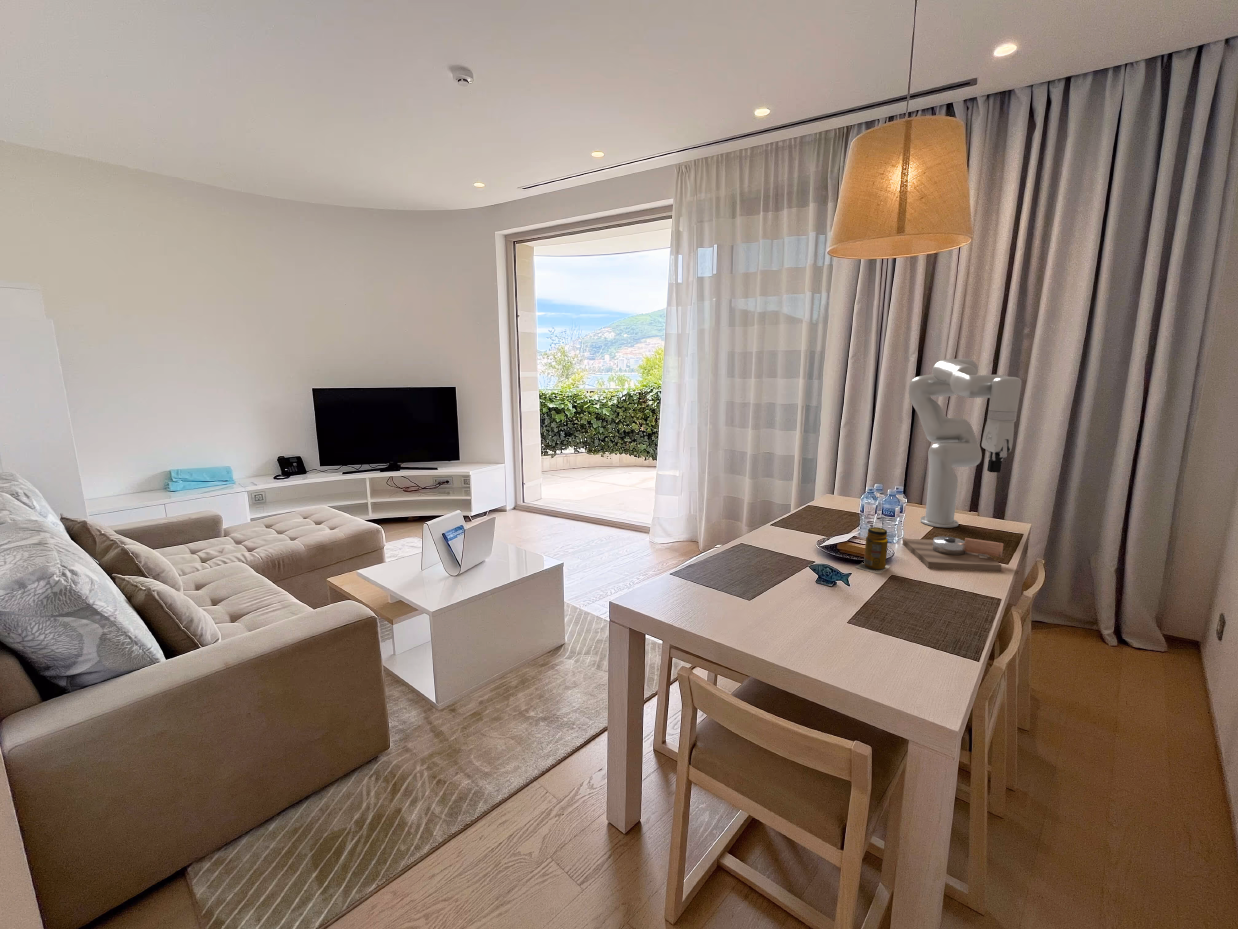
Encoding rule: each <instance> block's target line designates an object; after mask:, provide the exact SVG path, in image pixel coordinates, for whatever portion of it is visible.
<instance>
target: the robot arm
mask: <svg viewBox="0 0 1238 929" xmlns="http://www.w3.org/2000/svg"><path fill="white" fill-rule="evenodd" d="M931 370H932V371H931V372H932V374H926V375H925V374H924V375H919V376H916V377H914V378H913V379H911V380H910V383H909V384H908V398H909V401H910V402H911V405H912V406H913V408H914V410H915V411H916V413H917V415H918V418H919V421H920V424H921V426H922V430H923V432H924V433H923V434H924V435H925V438H926V439H927V440H928V441H929V442H931V443H932V445H930V446H929V448H928V452H927V457H928V482H927V483H928V485H927V494H926V495H927V496H926V505H925V515H924V516H921V517H920V523H922V524H925V525H927V526H931V527H937V528H956V527H958V526H959V521H958V520H956V519H955V513H956V504H957V502H956V501H957V494H958V487H959V486H958V482H959V480H958V476H957V473H955V471H954V468H972V467H975V466H977V465H979V464H981V461H982V457H983V456H982V455H983V453H982V449H981V447H982V448H983V449H985V450H986V451H987V452H988V456H987V458H988V462H987V467H986V468H987V469H986V471H987V472H989V473H1001V469H1002V462H1003V461H1004V458H1007V457H1008V454H1009V453H1010V452H1012V448H1013V444H1014V434H1015V422H1016V421H1017V415H1018V409H1019V402H1020V396H1021V388H1022V383H1023V382H1022V379H1021V378H1019V377H1016V376H1007V375H1004V374H978V372H979V367H978V364H977V362H975V360H973V359H972V358H971V359H970V358H947V359H941V360H939V361H937V362H936V363H935V364H934V365H933V367H932V369H931ZM956 395H958V396H960V397H962V398H968V399H975V398H976V399H987V398H988V399H989V403H988V412H987V416H986V417H987V418H986V422H985V426H984V429H983V434H982V439H981V440H982V441H981V446H980V444H979V441H978V438H977V436H976V433H975V431H974V429H973V426H972V424H971V423H970V422H969V421H968V420H967V419H965V418H963V417H947V415H946V414H945V412H944V409H943V407H942V406H941V405H940V404H939V402H938V401H936V400H935V399H933V397H934V398H935V397H936V398H937V397H938V398H939V397H953V396H956Z"/></svg>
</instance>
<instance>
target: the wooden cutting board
mask: <svg viewBox="0 0 1238 929" xmlns="http://www.w3.org/2000/svg"><path fill="white" fill-rule="evenodd" d="M902 545H903V546H904V547H905V548H906V549H907V550H908V551H909V552H910V553H911V554H912V555H913V556H914V557H916V558H917V559H918V560H919V561H920V562H921V563H922V564H923V565H924V566H925V567H926V568H927V569H936V570H938V569H939V570H962V571H981V572H982V571H985V572H987V571H988V572H1002V566H1003V565H1002V564H1001V563H999V562H998V561H997V560H995V559H993V558H992V557H991V556H990V555H984V554H977V553H971V552H966V553H965V554H962V555H950V554H944V553H940V552H937V551H935V550H934V549H933V539H925V538H924V539H922V538H920V539H919V538H902Z"/></svg>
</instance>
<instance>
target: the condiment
mask: <svg viewBox="0 0 1238 929" xmlns="http://www.w3.org/2000/svg"><path fill="white" fill-rule="evenodd" d="M865 537H866V538H865V546H864V556H863V562H864V563H863V562H861V563H860V564H858V565H856V566H855V568H857V569H859V570H863V571H867V572H871V573H874V574H879V575H881V574H883V572H885V571H887V570H888V569H889V568H890V567H891V565H887V552H888V541H889V540H888V538H887V537H888V531H887V529H885V528H883V527H876V526H875V527H874V526H872V527H869V528H868V529H867V536H865Z"/></svg>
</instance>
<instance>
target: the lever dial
mask: <svg viewBox="0 0 1238 929" xmlns="http://www.w3.org/2000/svg"><path fill="white" fill-rule="evenodd" d="M932 540H933V549H934V550H935V551H937V552H940V553H944V554H950V555H962V554H965V553H966V552H971V553H977V554H984V555H988V556H990V557H991V556H992V557H999V558H1001V557H1003V551H1004V543H1003V542H996V541H992V540H991V541H990V540H983V539H977V538H976V539H975V538H969V537H965V538H964V540H962V539H961V538H957V537H953V536H936V537H933V539H932Z"/></svg>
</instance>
